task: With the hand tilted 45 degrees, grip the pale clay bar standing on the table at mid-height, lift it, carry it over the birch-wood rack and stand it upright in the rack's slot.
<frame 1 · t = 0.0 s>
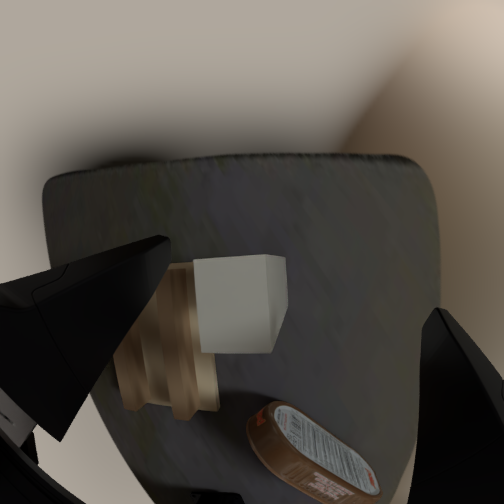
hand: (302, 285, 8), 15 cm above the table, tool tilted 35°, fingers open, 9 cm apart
tin: (321, 434, 23), on the table
rack: (163, 337, 25), on the table
clay bar: (268, 282, 24), on the table
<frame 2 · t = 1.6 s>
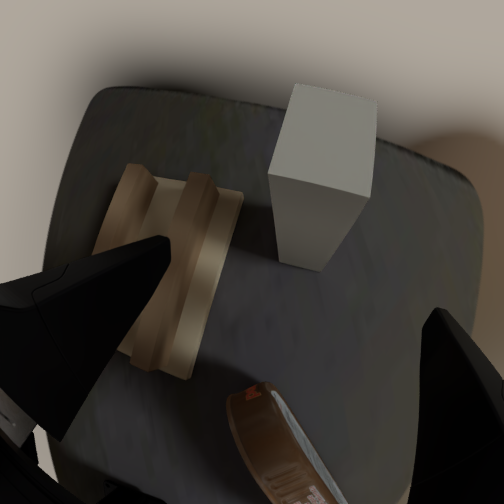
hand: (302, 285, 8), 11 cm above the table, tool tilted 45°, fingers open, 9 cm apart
tin: (303, 453, 17), on the table
rack: (156, 268, 21), on the table
clay bar: (306, 240, 20), on the table
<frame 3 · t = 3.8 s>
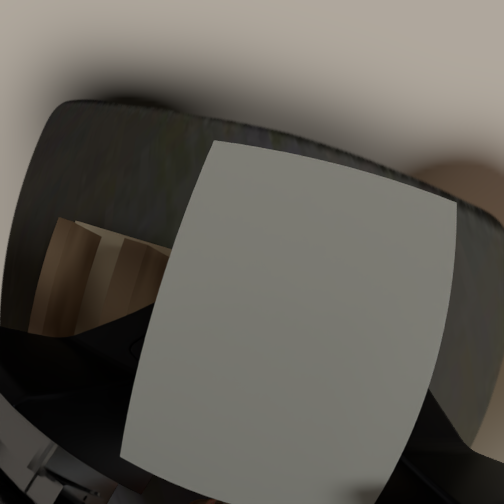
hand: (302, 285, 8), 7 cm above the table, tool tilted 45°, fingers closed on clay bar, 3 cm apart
rack: (105, 344, 15), on the table
clay bar: (288, 325, 15), on the table, touching gripper
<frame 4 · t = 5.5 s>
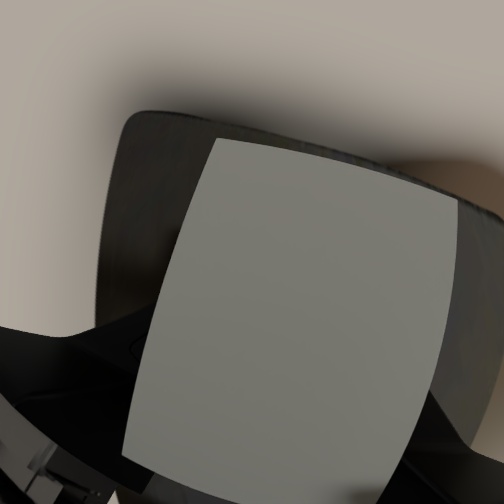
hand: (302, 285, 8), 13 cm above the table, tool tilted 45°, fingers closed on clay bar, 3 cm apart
clay bar: (288, 324, 15), point 7 cm above the table, touching gripper
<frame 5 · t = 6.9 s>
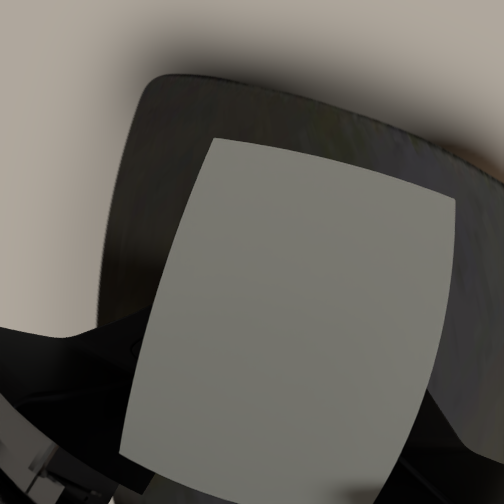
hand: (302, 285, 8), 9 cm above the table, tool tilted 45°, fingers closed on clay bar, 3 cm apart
clay bar: (288, 324, 15), point 2 cm above the table, touching gripper
when the fingers open (9 cm above the table, at t = 7.1 s): clay bar drops 1 cm, resting on rack.
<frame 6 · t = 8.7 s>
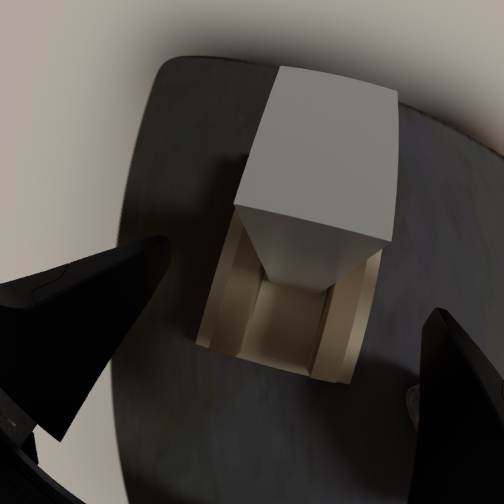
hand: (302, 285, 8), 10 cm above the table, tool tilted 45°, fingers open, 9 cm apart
tin: (438, 436, 14), on the table
rack: (301, 260, 18), on the table
clay bar: (302, 257, 17), point 1 cm above the table, touching rack
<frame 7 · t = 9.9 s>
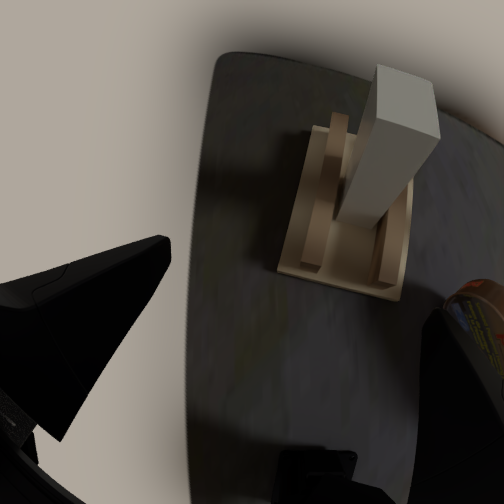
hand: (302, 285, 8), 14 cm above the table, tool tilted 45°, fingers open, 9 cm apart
tin: (468, 359, 18), on the table
rack: (354, 207, 23), on the table
clay bar: (357, 202, 22), point 1 cm above the table, touching rack
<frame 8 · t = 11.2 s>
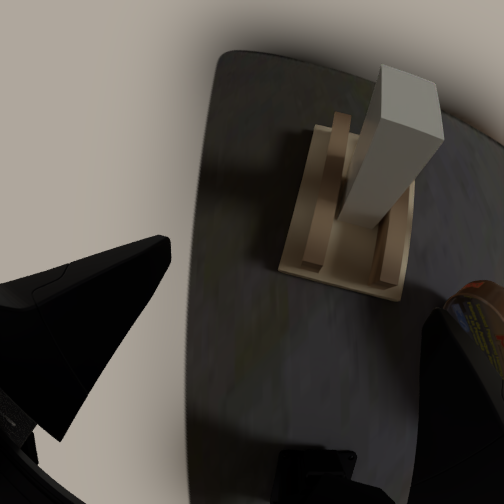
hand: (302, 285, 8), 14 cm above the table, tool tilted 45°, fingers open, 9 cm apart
tin: (468, 360, 18), on the table
rack: (355, 207, 23), on the table
clay bar: (358, 202, 22), point 1 cm above the table, touching rack
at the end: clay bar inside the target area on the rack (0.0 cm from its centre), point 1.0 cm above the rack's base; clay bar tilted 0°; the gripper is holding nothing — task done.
